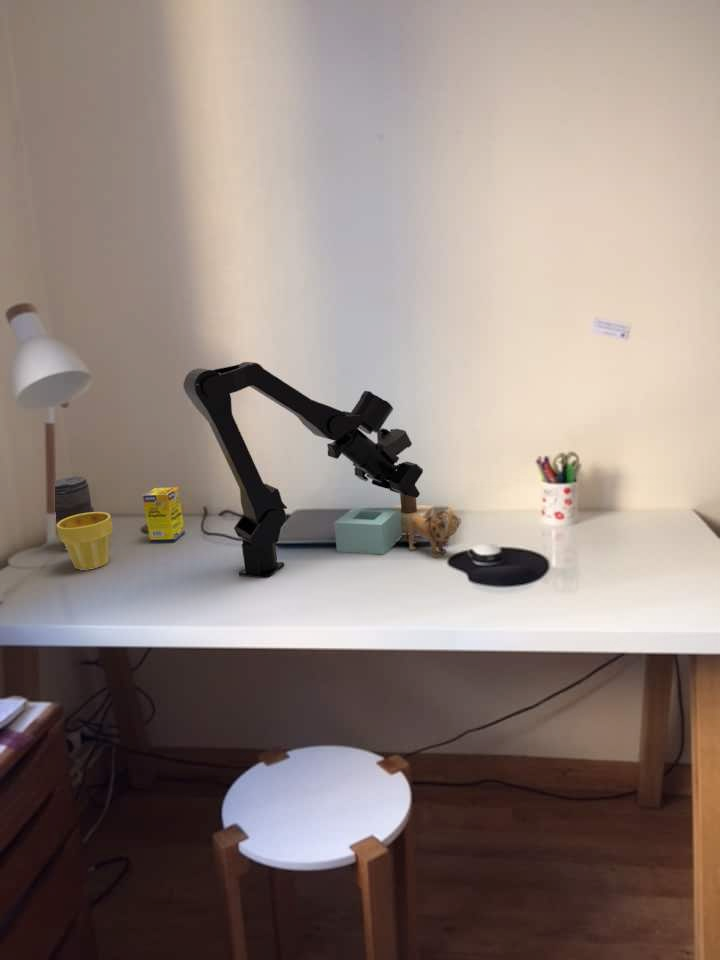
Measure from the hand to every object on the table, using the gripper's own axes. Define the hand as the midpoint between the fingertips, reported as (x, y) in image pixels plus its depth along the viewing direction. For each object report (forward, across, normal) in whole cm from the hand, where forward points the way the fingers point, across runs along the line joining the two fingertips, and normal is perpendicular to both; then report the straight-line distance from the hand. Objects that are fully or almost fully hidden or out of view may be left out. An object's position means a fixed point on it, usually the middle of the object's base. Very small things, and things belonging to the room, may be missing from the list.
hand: (413, 493), depth 154 cm
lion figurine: (+2, -13, +9) cm, 16 cm away
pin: (+1, 0, +3) cm, 4 cm away
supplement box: (-26, +33, +36) cm, 55 cm away
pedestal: (+4, 0, +6) cm, 7 cm away
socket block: (-4, -2, +14) cm, 15 cm away
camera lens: (-38, +43, +49) cm, 75 cm away
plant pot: (-38, +28, +49) cm, 67 cm away
